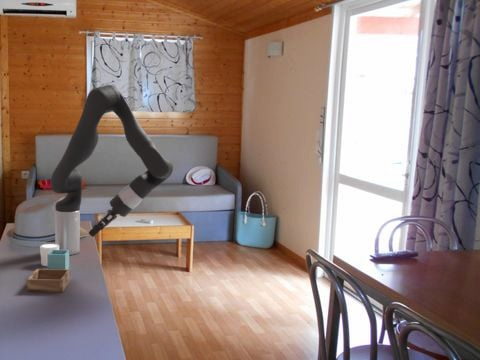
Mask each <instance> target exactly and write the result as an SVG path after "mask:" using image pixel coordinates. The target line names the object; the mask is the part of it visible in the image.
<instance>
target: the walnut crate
mask: <svg viewBox="0 0 480 360" xmlns="http://www.w3.org/2000/svg"><path fill="white" fill-rule="evenodd" d="M26 280H27V281H26V287H27V288H26V289H27V291H26V292H27V293H61V294H63V293H64V292H65V290H66V288H67V286H68V285H69V284H70V282H71V269H69V270H66V269H48V268H36V269H35V270H34V271H33V272H32V273H31V275H30V276H29V277H28V278H27V279H26Z"/></svg>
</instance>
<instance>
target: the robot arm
mask: <svg viewBox="0 0 480 360" xmlns="http://www.w3.org/2000/svg"><path fill="white" fill-rule="evenodd" d="M111 112H113V113H114V114H115V115H116V116H117V117H118V118H119V120H120V121H121V124H122V127H123V133H124V135H125V136H124V137H125V140H126V141H127V143H128V145H129V146H130V147H131V149H132V150H133V151H134V152H135V154H136V155H137V156H138V157H139V158H140V160H141V161H142V163H143V165H144V166H145V168H146V171H145V172H144V173H142V174H140V175H138V176H137V177H135V178H134V179H133V180H132V181H131V182H130V183H129V184H128V185H127V186H125V187H124V188H122V189H121V190H119V192H118V193H117V194H115V196H114V197H113V198H112V199H110V201H109V204H110V207H111V208H108V209H107V210H106V211H105V212H104V214H103V215H102V216H101V217H100V218H99V220H98V221H97V223H96V224H94V225H93V227H92V228H91V230H89V232H88V235H90V237H92V238H93V237H95V236H96V235H97V234H98V233H99V232H100V231H103V230H104V228H105V227H108V226H109V225H110V224H111V223H112V222H115V220H116V219H117V218H118V216H117V215H119V216H121V217H123V218H125V217H126V216H127V215H129V214H130V213H131V212H132V211H133V210H134V209H135V208H136V207H137V206H138V205H140V203H141V202H142V201H143V199H145V198H146V197H147V196H148V195H149V194H150V193H151V192H152V191H153V190H154V189H155V188H157V187H158V186H160V185H161V184H162V183H164V182H165V181H166V180H168V179H169V177H171V175H172V173H173V171H174V167H173V164H172V162H171V161H170V160H168V159H167V158H165V157H164V156H163V155H162V153H160V151H159V150H158V149H157V146H156V144H155V143H154V140H152V139H151V138H150V136H149V135H148V134H147V133H146V131H145V130H144V129H143V127H142V126H141V124H140V123H139V121H138V120H137V118H136V116H135V114H134V113H133V111H132V109H131V107H130V106H129V103H128V102H127V100H126V98H125V97H124V95H123V92H121V91H120V89H119V88H118V87H117V86H116V85H113V84H107V85H103V86H98V87H95V88H93V89H91V90H90V91H89V93H88V94H87V97H86V99H85V102H84V106H83V109H82V112H81V116H80V118H79V120H78V121H77V122H78V123H77V125H76V127H75V129H74V131H73V133H72V136H71V138H70V140H69V142H68V144H67V147H66V149H65V151H64V154H63V156H61V159H60V160H59V162H58V164H57V165H56V167H55V169H54V170H53V172H52V174H51V178H50V188H51V189H50V190H52V192H54V193H55V194H60V195H61V194H66V196H64V197H63V198H61V200H59V201H57V202H56V203H55V206H54V207H55V213H54V214H55V221H54V222H55V225H54V226H55V236H54V238H55V241H54V242H55V243H54V244H58V245H59V250H69V256H72V255H77V254H79V253H80V243H81V241H80V235H81V234H80V233H81V229H80V228H81V227H80V226H81V214H80V213H81V205H82V192H83V176H82V174H81V172H80V170H79V169H76V168H77V167H79V166H80V165H81V164H83V163H84V162H85V161H87V160H88V159H89V158H90V157H92V155H93V153H94V151H95V149H96V147H97V145H98V142H99V131H98V125H99V123H100V121H101V119H102V118H103V116H104V115H105V114H108V113H111Z"/></svg>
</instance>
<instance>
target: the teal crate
mask: <svg viewBox="0 0 480 360" xmlns="http://www.w3.org/2000/svg"><path fill="white" fill-rule="evenodd" d="M47 269H66V270H70V255H69V250H51V251H50V252H49V253H48V266H47Z"/></svg>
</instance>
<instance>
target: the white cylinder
mask: <svg viewBox="0 0 480 360" xmlns="http://www.w3.org/2000/svg"><path fill="white" fill-rule="evenodd" d="M51 250H59V245H58V244H55V243H44V244H41V245H39V252H40V261H41V263H40V264H41V266H43V267H48V253H49V252H50V251H51Z"/></svg>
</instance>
